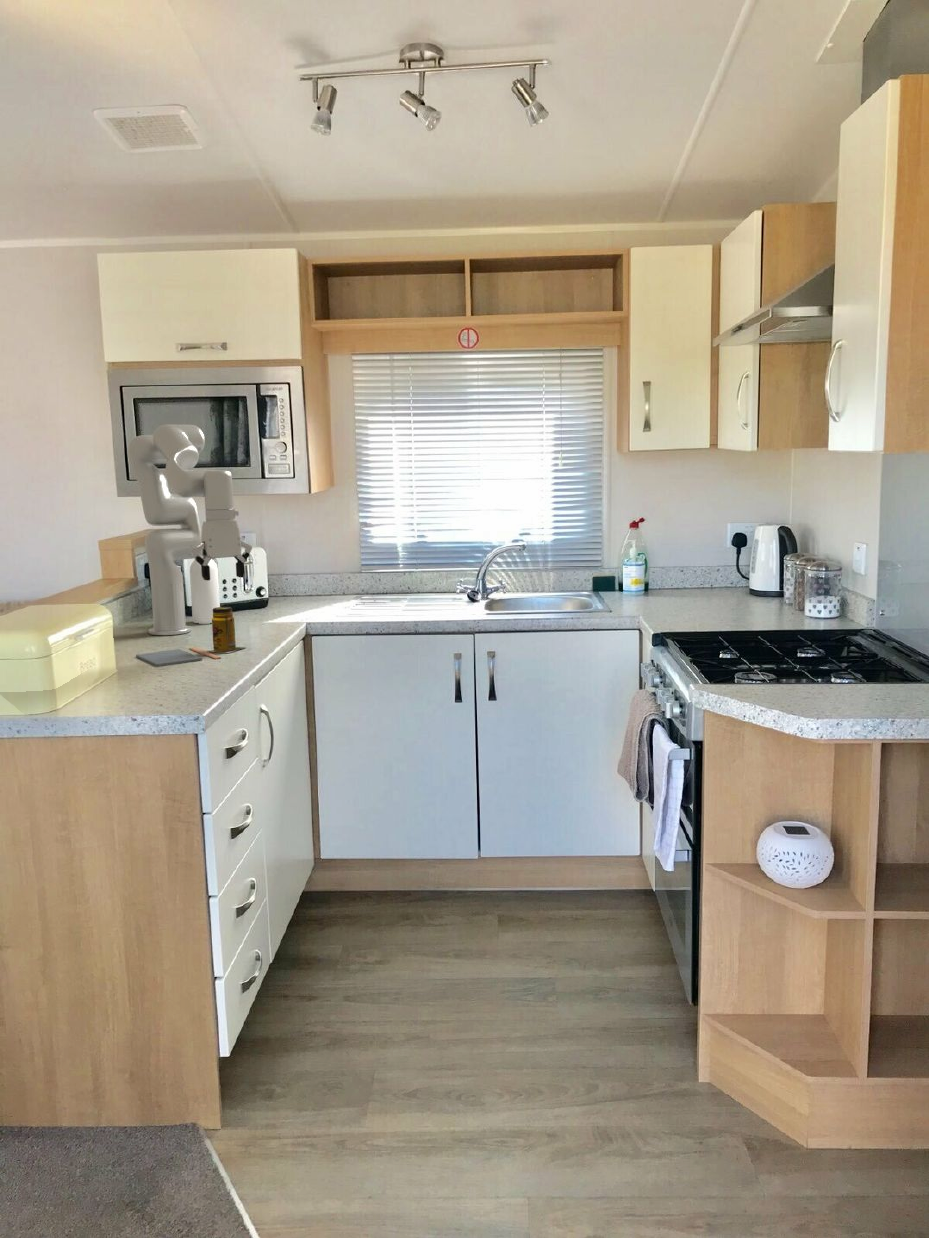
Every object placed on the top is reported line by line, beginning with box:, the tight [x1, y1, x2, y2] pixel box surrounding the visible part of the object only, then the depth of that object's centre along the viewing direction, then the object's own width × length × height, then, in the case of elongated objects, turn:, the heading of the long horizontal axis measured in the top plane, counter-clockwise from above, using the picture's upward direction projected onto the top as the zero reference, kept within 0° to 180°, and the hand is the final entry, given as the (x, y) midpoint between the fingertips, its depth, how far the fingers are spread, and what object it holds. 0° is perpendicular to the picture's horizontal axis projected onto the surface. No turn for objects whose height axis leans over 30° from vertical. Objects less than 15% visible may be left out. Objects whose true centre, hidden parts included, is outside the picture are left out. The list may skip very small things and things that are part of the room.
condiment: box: [208, 606, 246, 654], centre depth 265 cm, size 7×8×12 cm
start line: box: [189, 646, 221, 660], centre depth 261 cm, size 18×2×1 cm, turn 37°
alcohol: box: [189, 555, 221, 625], centre depth 310 cm, size 9×9×30 cm
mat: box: [135, 648, 203, 667], centre depth 255 cm, size 16×12×1 cm
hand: (223, 578), depth 263 cm, fingers open, 9 cm apart
